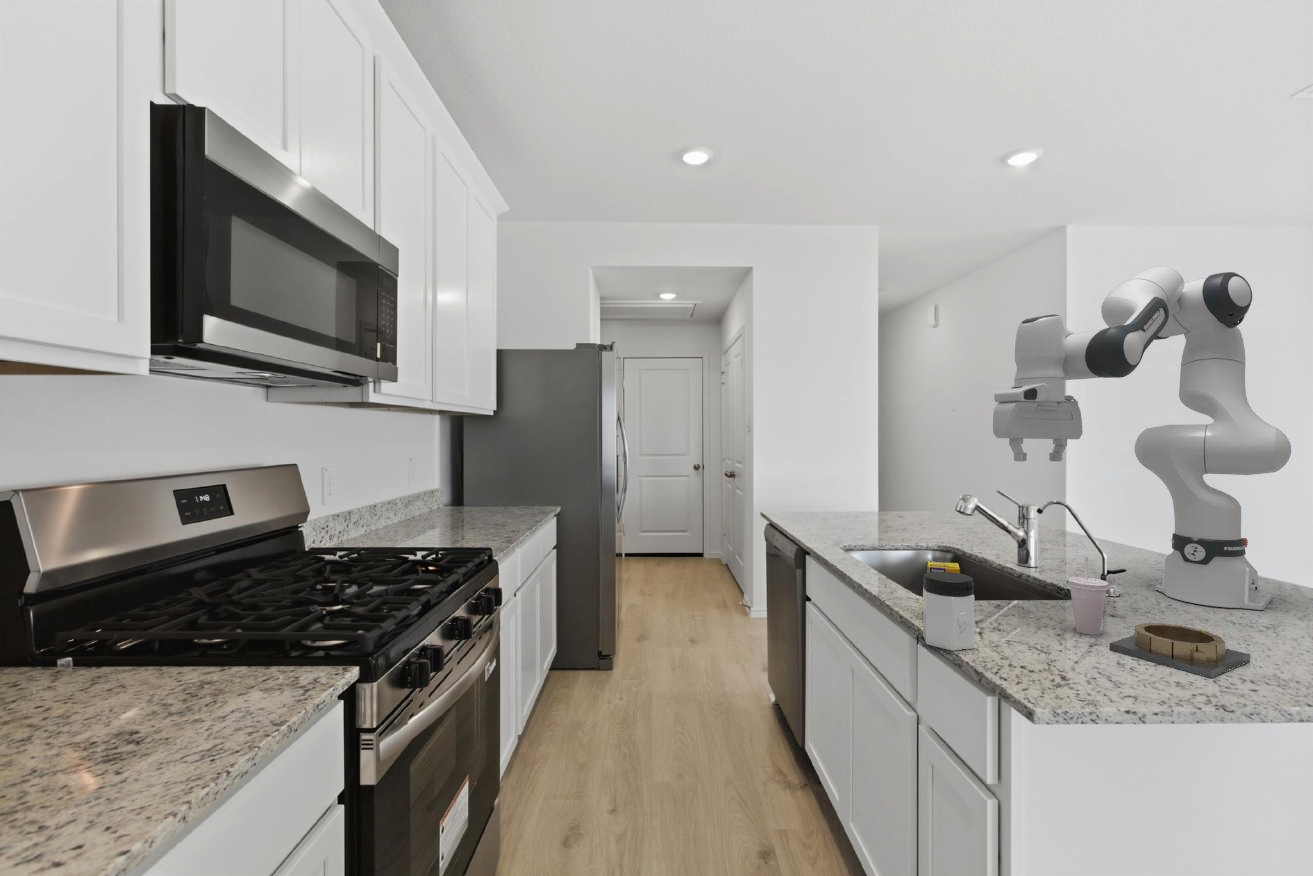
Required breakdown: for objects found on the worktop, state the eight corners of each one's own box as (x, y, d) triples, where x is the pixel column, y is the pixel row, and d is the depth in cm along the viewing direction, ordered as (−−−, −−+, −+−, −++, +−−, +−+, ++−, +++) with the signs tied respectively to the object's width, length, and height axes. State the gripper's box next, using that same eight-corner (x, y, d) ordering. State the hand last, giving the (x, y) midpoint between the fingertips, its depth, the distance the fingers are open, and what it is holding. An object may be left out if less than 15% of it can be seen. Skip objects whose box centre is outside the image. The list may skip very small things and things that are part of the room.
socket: (1150, 636, 114) (1150, 616, 114) (1250, 661, 102) (1250, 639, 102) (1109, 649, 107) (1109, 628, 107) (1211, 678, 95) (1211, 654, 95)
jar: (941, 653, 107) (941, 583, 106) (912, 637, 114) (912, 572, 114) (986, 648, 109) (986, 580, 108) (954, 633, 116) (954, 570, 116)
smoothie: (1095, 626, 120) (1095, 554, 120) (1116, 638, 113) (1117, 561, 113) (1060, 626, 120) (1060, 554, 120) (1079, 637, 114) (1079, 561, 114)
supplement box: (927, 620, 124) (927, 566, 124) (926, 612, 130) (926, 560, 130) (960, 623, 122) (960, 568, 122) (958, 615, 128) (958, 562, 128)
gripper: (1063, 396, 133) (1062, 460, 133) (987, 393, 127) (986, 460, 127) (1091, 394, 127) (1090, 462, 127) (1013, 391, 121) (1012, 462, 121)
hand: (1038, 461), depth 127 cm, fingers open, 8 cm apart
